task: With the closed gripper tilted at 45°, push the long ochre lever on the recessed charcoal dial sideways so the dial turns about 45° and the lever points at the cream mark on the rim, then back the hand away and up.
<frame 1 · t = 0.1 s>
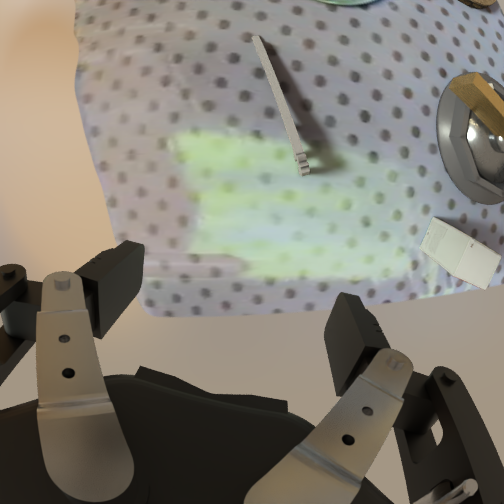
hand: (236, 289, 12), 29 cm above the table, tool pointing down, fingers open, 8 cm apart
dial housing: (486, 137, 33), on the table
dial: (498, 127, 27), point 6 cm above the table, hinge at 0.0°
caliper: (279, 101, 35), on the table
small box: (442, 240, 40), on the table
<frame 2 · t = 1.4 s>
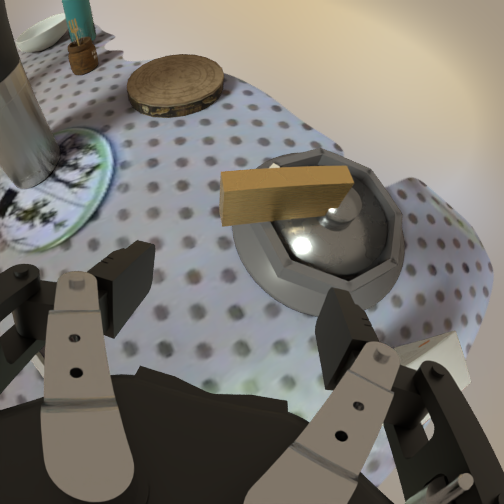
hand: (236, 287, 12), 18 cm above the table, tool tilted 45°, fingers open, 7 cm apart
wooden log slice: (175, 90, 43), on the table
dial housing: (324, 226, 35), on the table
dial: (318, 202, 29), point 6 cm above the table, hinge at 0.0°
cereal bowl: (47, 45, 50), on the table
small box: (376, 382, 28), on the table
utensil holder: (86, 68, 45), on the table
beverage bottle: (85, 46, 49), on the table
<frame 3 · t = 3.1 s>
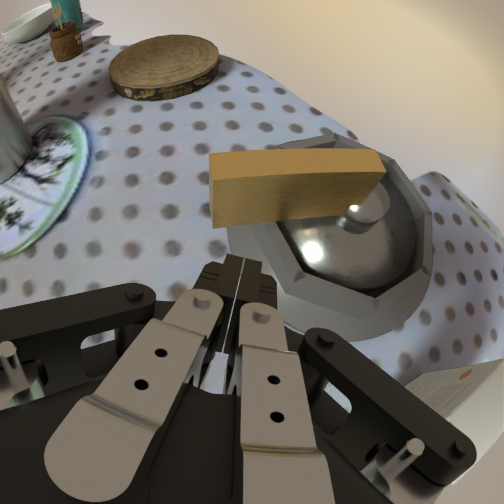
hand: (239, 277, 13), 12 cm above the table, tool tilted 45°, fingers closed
wooden log slice: (164, 73, 36), on the table
dial housing: (340, 227, 28), on the table
dial: (337, 197, 22), point 6 cm above the table, hinge at 0.0°
cereal bowl: (34, 35, 43), on the table
small box: (400, 415, 21), on the table
utensil holder: (69, 55, 38), on the table
beverage bottle: (71, 33, 42), on the table
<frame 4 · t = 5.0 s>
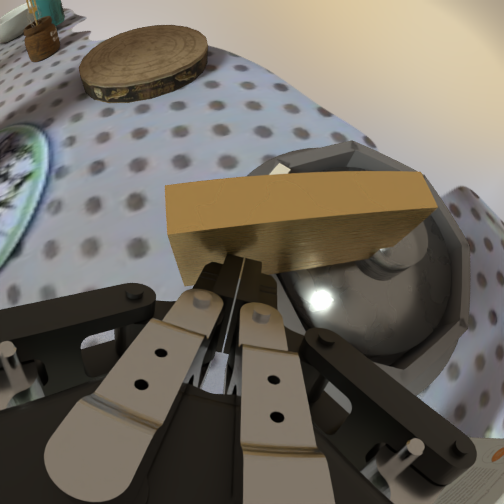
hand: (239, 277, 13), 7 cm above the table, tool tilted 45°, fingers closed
wooden log slice: (144, 69, 30), on the table
dial housing: (359, 265, 21), on the table
dial: (361, 236, 16), point 6 cm above the table, hinge at 0.0°, touching gripper
cereal bowl: (16, 35, 37), on the table
small box: (417, 483, 15), on the table
utensil holder: (46, 54, 31), on the table
beverage bottle: (52, 31, 36), on the table
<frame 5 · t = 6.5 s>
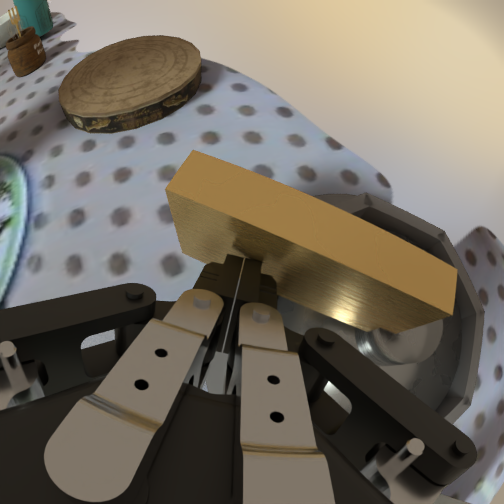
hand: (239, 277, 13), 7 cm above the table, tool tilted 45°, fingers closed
wooden log slice: (131, 88, 27), on the table
dial housing: (364, 337, 19), on the table
dial: (369, 304, 14), point 6 cm above the table, hinge at 33.0°, touching gripper
cereal bowl: (7, 42, 35), on the table
utensil holder: (31, 67, 29), on the table
beverage bottle: (41, 39, 33), on the table
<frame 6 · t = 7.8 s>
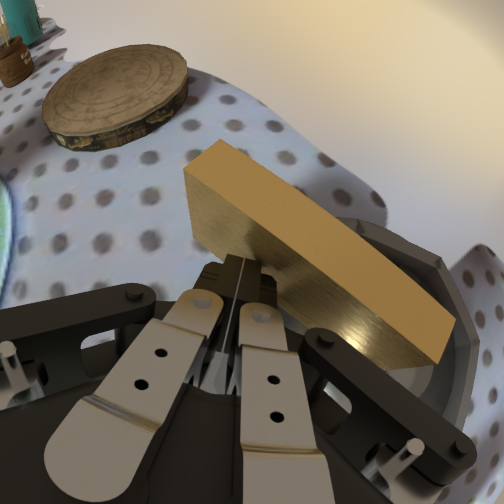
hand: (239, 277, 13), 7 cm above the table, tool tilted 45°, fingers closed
wooden log slice: (116, 101, 26), on the table
dial housing: (353, 369, 18), on the table
dial: (361, 334, 13), point 6 cm above the table, hinge at 48.5°, touching gripper
utensil holder: (19, 77, 28), on the table
beverage bottle: (31, 47, 32), on the table
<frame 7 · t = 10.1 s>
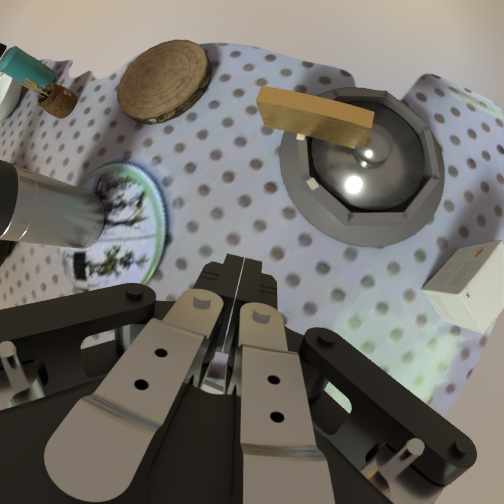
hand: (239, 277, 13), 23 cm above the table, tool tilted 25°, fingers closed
wooden log slice: (167, 84, 41), on the table
dial housing: (365, 160, 34), on the table
dial: (350, 135, 29), point 6 cm above the table, hinge at 48.6°
glass bottle: (3, 235, 48), on the table
cereal bowl: (12, 104, 52), on the table
small box: (450, 283, 31), on the table
utensil holder: (67, 107, 46), on the table
beverage bottle: (50, 85, 48), on the table
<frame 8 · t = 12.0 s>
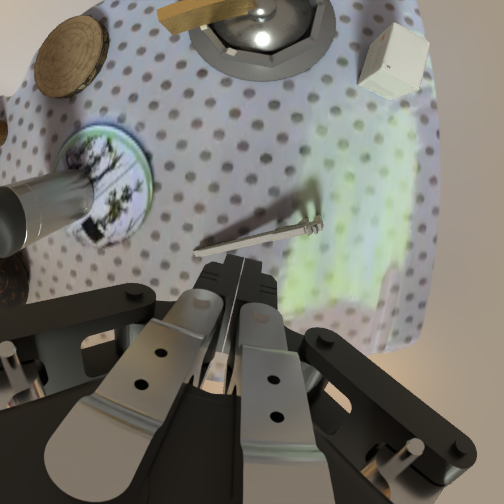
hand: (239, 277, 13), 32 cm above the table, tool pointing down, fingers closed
wooden log slice: (74, 57, 36), on the table
dial housing: (261, 18, 33), on the table
dial: (239, 6, 28), point 6 cm above the table, hinge at 48.6°
caliper: (255, 234, 46), on the table
glass bottle: (14, 269, 52), on the table
small box: (379, 71, 35), on the table
utensil holder: (1, 133, 41), on the table
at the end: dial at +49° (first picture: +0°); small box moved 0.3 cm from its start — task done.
